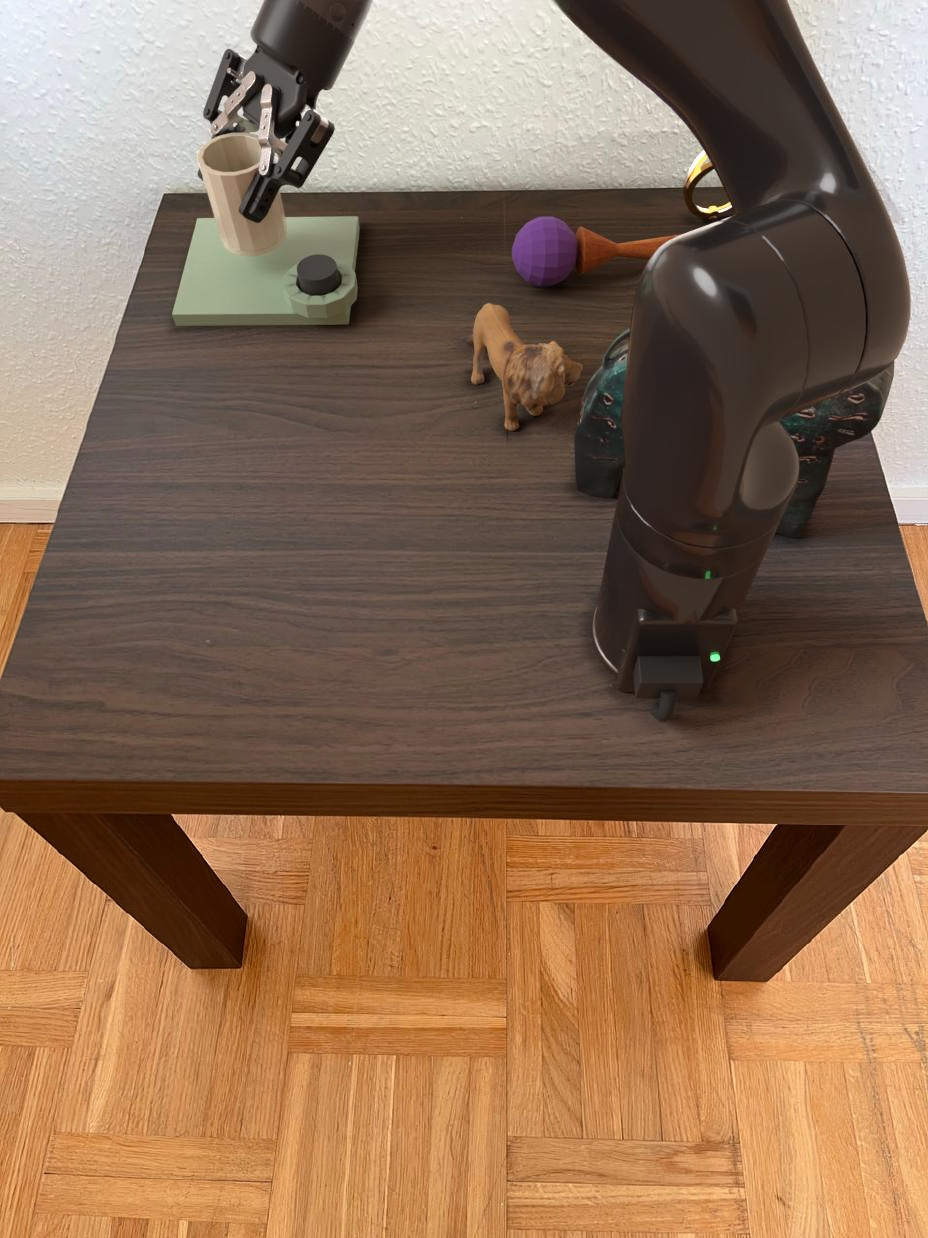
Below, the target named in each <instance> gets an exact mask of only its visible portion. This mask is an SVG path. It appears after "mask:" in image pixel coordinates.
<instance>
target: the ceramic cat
mask: <svg viewBox="0 0 928 1238" xmlns="http://www.w3.org/2000/svg"><path fill="white" fill-rule="evenodd" d="M629 334H630V327H629V328H627V329H625V330H624V331H623V332H622V333H620V334H619V335H618V336H617V337H616V338H615V339H614V340H613V341H612V343H611V344H610V345H609V346H608V348H607V350H606V352H605V353H604V355H603V357H602V361H601V363H602V364H601V366H600V367H599V368H598V369H597V370H596V372H595V373H594V374H593V375H592V377H591V378H590V380H589V382H588V383H587V385H586V387H585V389H584V392H583V395H582V399H581V407H580V413H579V417H578V421H577V424H576V427H575V430H574V436H573V437H574V438H573V449H574V465H575V466H574V471H575V472H574V473H575V489H576V490H577V492H581V493H584V494H586V495H590V496H593V497H599V498H604V499H607V498H608V499H609V498H615V495H616V491H617V487H618V484H619V480H620V477H621V473H622V470H624V464H625V451H624V444H623V435H622V422H621V416H622V403H623V394H624V385H625V375H626V366H627V356H628V345H629V341H628V342H626V343H625V344H623V345H621V346H619V347H617V346H618V345H619V344H621V343H622V342H623V341H624V340H627V339H629ZM616 347H617V348H616ZM615 348H616V349H615ZM894 375H895V360H894V361H893V363H892V364H891V365H890V367H889V368H887V369H886V370H885V371H884V372H883V373H881V374H880V375H878V376H877V377H875V378H874V379H872V380H870V381H868V382H866V383H864V384H862V385H860V386H858V387H856V388H854V389H851V390H849V391H847V392H844V393H842V394H840V395H838V396H835V397H832V398H830V399H828V400H826V401H824V402H821V403H819V404H817V405H814V406H812V407H810V408H807V409H805V410H803V411H800V412H798V413H796V414H793V415H791V416H789V417H786V418H784V419H782V420H779V421H780V422H781V424H782V425H783V426H784V427H785V428H786V429H787V431H788V432H789V434H790V435H791V437H792V439H793V441H794V443H795V446H796V449H797V452H798V457H799V476H798V481H797V484H796V488H795V490H794V493H793V495H792V498H791V500H790V502H789V504H788V506H787V509H786V511H785V513H784V515H783V517H782V519H781V522H780V524H779V526H778V528H777V531H776V533H775V534H779V535H783V536H786V537H788V538H793V539H799V537H800V536H801V534H802V532H803V531H804V528H805V527H806V525H807V523H808V522H809V520H810V519H811V516H812V513H813V511H814V509H815V507H816V504H817V501H818V500H819V498H820V496H821V495H822V493H823V492H824V490H825V487H826V484H827V480H828V476H829V474H830V469H831V466H832V463H833V460H834V455H835V451H836V449H837V448H840V447H842V446H844V445H846V444H849V443H851V442H854V441H858V440H860V439H862V438H864V437H865V436H867V435H870V433H871V432H872V431H873V430H874V429H876V427H877V426H878V424H879V423H880V421H881V419H882V417H883V414H884V410H885V407H886V404H887V402H888V398H889V396H890V392H891V388H892V384H893V380H894V377H895V376H894Z"/></svg>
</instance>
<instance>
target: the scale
mask: <svg viewBox="0 0 928 1238" xmlns="http://www.w3.org/2000/svg"><path fill="white" fill-rule="evenodd" d="M285 218H286V222H287V230H288V233H287V237H286V239H285V241H284V242H283V244H282V245H281V246H279V247H278V248H277V249H275V250H273V251H272V252H269V253H267V254H263V255H259V256H240V255H236V254H233V253H231V252H230V251H228V250H227V249H226V248H225V247H224V246H223V244H222V242H221V238H220V235H219V233H218V229H217V226H216V222H215V219H214V217H197V218H196V222H195V226H194V230H193V233H192V237H191V240H190V245H189V249H188V252H187V256H186V260H185V263H184V268H183V271H182V275H181V279H180V283H179V287H178V291H177V294H176V298H175V302H174V305H173V309H172V313H171V315H172V318H173V321H174V324H175V326H176V327H190V326H191V327H193V326H196V327H199V326H200V327H202V326H205V327H207V326H208V327H209V326H211V327H212V326H311V325H312V326H313V325H314V326H317V325H318V326H319V325H321V326H323V325H324V326H325V325H327V326H328V325H330V326H331V325H333V326H334V325H349V323H350V316H351V308H352V305H353V304H354V303H355V302H356V301H357V298H358V288H359V287H358V281H357V274H356V265H357V257H358V256H357V255H358V248H359V239H360V232H361V231H360V229H361V227H360V219H359V216H358V215H357V216H356V215H355V216H353V215H352V216H351V215H350V216H347V215H345V216H343V215H342V216H285ZM316 254H322V255H327V256H329V257H331V258H333V259H334V260H335V262H336V264H337V269H338V275H339V286H338V287H337V289H336V290H335V291H334V292H331V293H329V294H326V295H323V296H311V295H308V294H306V293H304V292H303V291H302V289H301V288H300V284H299V279H298V274H297V265H298V264H299V262H300V261H301V260H302V259H304V258H306V257H308V256H311V255H316Z"/></svg>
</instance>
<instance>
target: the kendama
mask: <svg viewBox="0 0 928 1238" xmlns="http://www.w3.org/2000/svg"><path fill="white" fill-rule="evenodd" d="M682 234H683V233H681V234H673V235H667V236H660V237H653V238H647V239H641V240H633V241H626V242H621V243H616V242H614V241H613V240H610V239H608V238H606V237H604V236H602V235H599V234H598V233H596V232H594V231H591V230H589V229H587V228H585V227H583V226H579V227H578V228H577V230H576V233H575V232H574V231H573V230H572V229H571V228H570V227H569V226H568V224H567V223H566V222H565V221H563V220H561V219H559V218H557V217H555V216H553V215H552V216H538V217H535V218H533V219H532V220H529V221H528V222H526V223H525V224H524V226H522V227H521V229H520V230H519V231H518V232H517V233H516V235H515V238H514V240H513V244H512V247H511V258H512V261H513V264H514V267H515V271H516V273H518V275H520V276H521V278H522V279H523V280H524V281H525V282H526V283H529V284H531V285H533V286H535V287H539V288H540V287H541V288H543V287H552V286H554V285H557V284H559V283H561V282H563V281H564V280H566V279H567V278H568V277H569V275H570V274H571V273H572V272H574V270H575V271H576V274H577V275H578V276H582V275H583V274H585V273H587V272H588V271H591V270H593V269H595V268H597V267H599V266H601V265H603V264H604V263H607V262H608V261H610V260H612V259H614V258H616V257H618V258H628V259H637V260H638V259H639V260H648V261H649V260H650V258H651V256H652V255H653V254H654V253H655V251H656V250H657V249H658V248H659V247H660V246H662V245H663V244H664V243H665V242H667V241H669V240H671V239H673V238H675V237H677V236H679V235H682ZM574 268H575V269H574Z"/></svg>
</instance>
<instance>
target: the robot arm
mask: <svg viewBox="0 0 928 1238" xmlns="http://www.w3.org/2000/svg"><path fill="white" fill-rule="evenodd" d="M551 2H552V3H553V5H554V6H555V7H556V8H557V10H559V12H560V13H561V14H562V15H563V16H564V17H565V18H566V19H567V20H568V21H569V23H571V24H572V25H573V26H574V27H575V28H576V29H577V30H578V31H579V32H580V33H581V34H582V35H584V37H586V38H587V39H588V40H589V41H590V42H591V43H592V44H593V45H594V46H596V47H597V49H599V50H601V51H602V52H603V53H604V54H606V56H608V57H609V58H610V59H612V60H613V61H614V62H615V63H617V64H618V65H619V66H620V67H622V68H623V69H624V70H625V71H626V72H628V73H629V74H630V75H632V77H634V78H635V79H636V80H637V81H639V82H640V83H641V84H642V85H644V87H646V88H647V89H649V90H650V92H652V93H653V94H654V95H655V96H656V97H658V99H660V100H661V101H662V102H663V103H664V104H665V105H667V107H669V108H670V109H671V110H672V111H673V112H674V113H675V115H677V116H678V118H679V119H680V120H681V121H682V122H683V123H684V124H685V126H686V127H687V128H688V129H689V131H690V132H691V133H692V135H693V136H694V137H695V139H696V140H697V141H698V143H699V144H700V146H701V148H702V149H703V150H704V151H705V153H706V155H707V156H708V158H707V159H709V162H710V161H711V163H712V165H713V167H714V171H715V173H716V176H717V178H718V180H719V181H720V183H721V186H722V187H723V191H724V192H725V194H726V196H727V198H728V201H729V202H730V203H731V206H732V208H733V213H734V215H731V216H729V217H726V218H722V219H720V220H716V221H713V222H712V223H709V224H706V225H703V226H701V227H698V228H696V229H692V230H690V231H687V232H684V233H681V234H682V235H680V234H678V235H679V236H677V237H675V238H673V239H671V240H669V241H667V242H665V243H664V244H663V245H662V246H660V247H659V248H658V249H657V250H656V251H655V253H654V254H653V255H652V256H651V258H650V260H649V259H648V261H647V262H646V265H645V266H644V269H643V271H642V272H641V275H640V278H639V281H638V284H637V286H636V290H635V294H634V299H633V304H632V309H631V318H630V323H629V328H630V334H629V337H628V342H629V345H628V356H627V366H626V375H625V385H624V394H623V403H622V416H621V422H622V435H623V444H624V451H625V464H624V468H623V469H622V475H621V480H620V485H619V491H618V496H617V501H616V505H615V511H614V516H613V520H612V526H611V531H610V536H609V541H608V547H607V552H606V557H605V562H604V568H603V574H602V578H601V583H600V587H599V593H598V599H597V605H596V608H595V610H594V613H593V618H592V623H591V638H592V644H593V647H594V651H595V652H596V655H597V657H598V658H599V660H600V662H601V663H602V665H603V666H604V667H605V668H606V669H607V670H608V671H609V672H610V673H611V674H612V676H614V677H615V678H616V681H617V688H618V691H619V692H622V693H634V696H635V697H634V698H635V699H636V700H637V699H639V700H640V699H641V700H643V699H644V700H645V699H646V700H647V699H648V700H649V699H650V700H651V699H655V700H659V702H655V703H653V704H652V705H650V708H649V712H650V715H652V717H653V718H654V720H656V721H657V722H659V723H666V722H668V721H669V720H671V718H672V717H673V714H674V710H675V705H676V699H679V700H684V699H685V700H693V699H694V700H696V699H697V698H698V696H699V694H700V693H707V692H708V690H709V688H710V686H711V684H712V682H713V679H714V678H715V675H716V673H717V670H718V668H719V667H720V665H721V662H722V660H723V657H724V655H725V653H726V651H727V649H728V646H729V644H730V642H731V640H732V638H733V636H734V634H735V631H736V629H737V626H738V623H739V618H738V617H739V614H740V612H741V610H742V608H743V605H744V604H745V601H746V598H747V596H748V594H749V593H750V591H751V590H750V589H751V588H752V585H753V583H754V581H755V579H756V577H757V575H758V572H759V570H760V567H761V566H762V563H763V561H764V559H765V557H766V554H767V552H768V550H769V548H770V545H771V543H772V541H773V539H774V537H775V535H776V534H777V533H776V531H777V528H778V526H779V524H780V522H781V519H782V517H783V515H784V513H785V511H786V509H787V506H788V504H789V502H790V500H791V498H792V495H793V493H794V490H795V488H796V484H797V481H798V476H799V457H798V452H797V449H796V446H795V443H794V441H793V439H792V437H791V435H790V434H789V432H788V431H787V429H786V428H785V427H784V426H783V425H782V424H781V422H780V421H779V420H782V419H784V418H786V417H789V416H791V415H793V414H796V413H798V412H800V411H803V410H805V409H807V408H810V407H812V406H814V405H817V404H819V403H821V402H824V401H826V400H828V399H830V398H832V397H835V396H838V395H840V394H842V393H844V392H847V391H849V390H851V389H854V388H856V387H858V386H860V385H862V384H864V383H866V382H868V381H870V380H872V379H874V378H875V377H877V376H878V375H880V374H881V373H883V372H884V371H885V370H886V369H887V368H889V367H890V365H891V364H892V363H893V361H894V362H895V360H897V358H898V356H899V354H900V353H901V351H902V349H903V346H904V344H905V342H906V340H907V336H908V331H909V327H910V321H911V314H912V313H911V312H912V310H911V309H912V296H911V287H910V279H909V274H908V271H907V264H906V261H905V256H904V253H903V249H902V246H901V242H900V239H899V237H898V234H897V231H896V229H895V226H894V224H893V222H892V219H891V216H890V214H889V212H888V209H887V207H886V205H885V202H884V200H883V197H882V196H881V194H880V192H879V190H878V187H877V186H876V183H875V181H874V180H873V177H872V175H871V174H870V171H869V169H868V167H867V165H866V163H865V161H864V158H863V157H862V155H861V152H860V151H859V149H858V147H857V145H856V143H855V141H854V139H853V137H852V135H851V133H850V131H849V129H848V126H847V125H846V123H845V121H844V119H843V117H842V114H841V113H840V111H839V109H838V107H837V105H836V103H835V101H834V99H833V97H832V95H831V93H830V90H829V89H828V86H827V84H826V83H825V80H824V78H823V76H822V74H821V72H820V70H819V68H818V66H817V64H816V62H815V59H814V57H813V54H812V53H811V51H810V48H809V46H808V44H807V42H806V40H805V37H804V35H803V33H802V30H801V28H800V26H799V24H798V22H797V19H796V16H795V14H794V12H793V9H792V6H791V5H790V1H789V0H551ZM373 3H374V0H263V2H262V4H261V6H260V8H259V11H258V13H257V15H256V18H255V20H254V22H253V24H252V26H251V29H250V32H249V33H250V34H249V35H250V38H251V40H252V42H253V43H254V44H256V48H255V50H254V51H253V53H252V54H251V55H250V57H248V59H247V58H246V57H244V56H243V55H242V54H240V53H238V52H236V51H235V50H233V49H231V48H226V50H225V51H224V52H223V56H222V57H221V59H220V62H219V67H218V69H217V72H216V74H215V76H214V80H213V83H212V85H211V88H210V91H209V93H208V97H207V100H206V103H205V104H204V108H203V111H202V116H203V118H204V119H205V120H207V121H208V122H209V123H210V133H211V134H212V136H211V138H210V140H212V139H213V138H215V137H217V136H220V135H224V134H229V133H242V132H246V133H256V132H258V142H259V144H260V146H261V155H260V163H259V173H260V174H259V173H257V172H256V173H255V175H254V177H253V179H252V181H251V183H250V185H249V188H248V190H247V192H246V194H245V196H244V198H243V200H242V203H241V205H240V207H239V213H240V214H241V215H242V216H243V217H244V218H246V219H248V220H251V221H253V222H255V223H260V222H261V221H262V220H263V219H264V218H265V217H266V216H267V214H268V212H269V209H270V208H271V206H272V204H273V201H274V199H275V197H276V195H277V193H278V191H279V190H280V189H281V188H282V187H285V186H291V187H294V188H296V189H301V188H302V187H303V186H304V184H305V183H306V181H307V179H308V177H309V176H310V175H311V172H312V170H313V169H314V168H315V166H316V164H317V162H318V161H319V159H320V157H321V155H322V154H323V152H324V151H325V149H326V147H327V145H328V143H329V142H330V140H331V139H332V137H333V135H334V133H335V131H336V126H335V124H334V123H333V122H332V121H330V120H329V119H327V118H326V117H325V116H322V115H321V114H320V113H319V112H318V111H317V110H316V108H317V101H318V98H319V95H320V93H321V91H330V90H332V89H333V87H334V86H335V83H336V81H337V80H338V78H339V75H340V73H341V71H342V69H343V67H344V65H345V63H346V61H347V60H348V57H349V55H350V53H351V51H352V48H353V47H354V45H355V42H356V40H357V38H358V36H359V34H360V32H361V30H362V28H363V26H364V24H365V21H366V20H367V18H368V15H369V13H370V11H371V8H372V5H373ZM224 96H225V97H227V99H226V100H225V101H224V102H223V107H224V108H223V111H222V110H220V109H219V108H220V105H221V102H222V100H223V97H224ZM234 124H236V125H235V126H234ZM282 139H284V141H283V140H282ZM703 150H702V151H703ZM275 155H277V162H275ZM299 158H301V159H300V161H299V162H298V164H297V166H296V168H295V169H294V168H292V167H293V166H294V163H295V162H296V160H297V159H299ZM274 162H275V163H274ZM197 177H198V178H199V179H200V180H201V181H202V182H204V181H203V178H202V174H201V171H200V167H199V168H198V171H197Z"/></svg>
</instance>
